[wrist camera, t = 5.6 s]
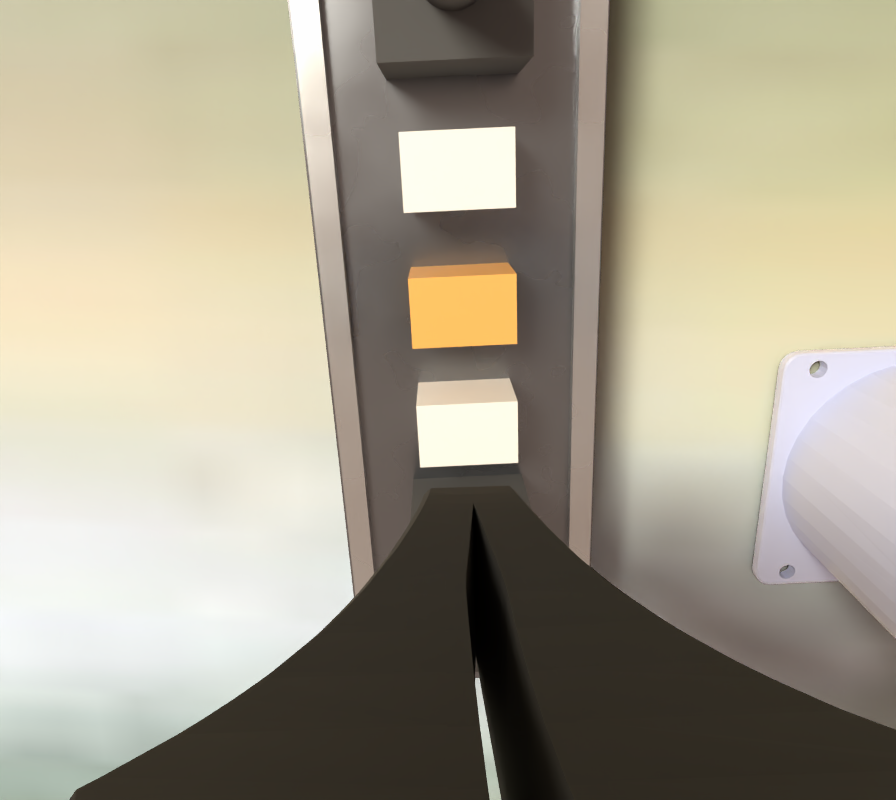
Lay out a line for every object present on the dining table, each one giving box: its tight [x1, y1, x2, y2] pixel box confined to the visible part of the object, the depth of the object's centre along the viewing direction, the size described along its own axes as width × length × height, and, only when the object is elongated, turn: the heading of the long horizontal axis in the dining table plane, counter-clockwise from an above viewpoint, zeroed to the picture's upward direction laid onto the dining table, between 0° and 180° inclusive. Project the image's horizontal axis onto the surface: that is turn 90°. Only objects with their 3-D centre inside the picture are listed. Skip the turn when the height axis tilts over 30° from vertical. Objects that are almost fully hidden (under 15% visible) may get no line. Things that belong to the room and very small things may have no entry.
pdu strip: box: [288, 0, 610, 678], centre depth 17 cm, size 7×24×3 cm, turn 3°
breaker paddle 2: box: [416, 378, 518, 467], centre depth 16 cm, size 2×2×2 cm
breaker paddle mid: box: [408, 263, 517, 349], centre depth 15 cm, size 2×2×2 cm
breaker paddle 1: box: [398, 127, 516, 213], centre depth 14 cm, size 2×2×2 cm
